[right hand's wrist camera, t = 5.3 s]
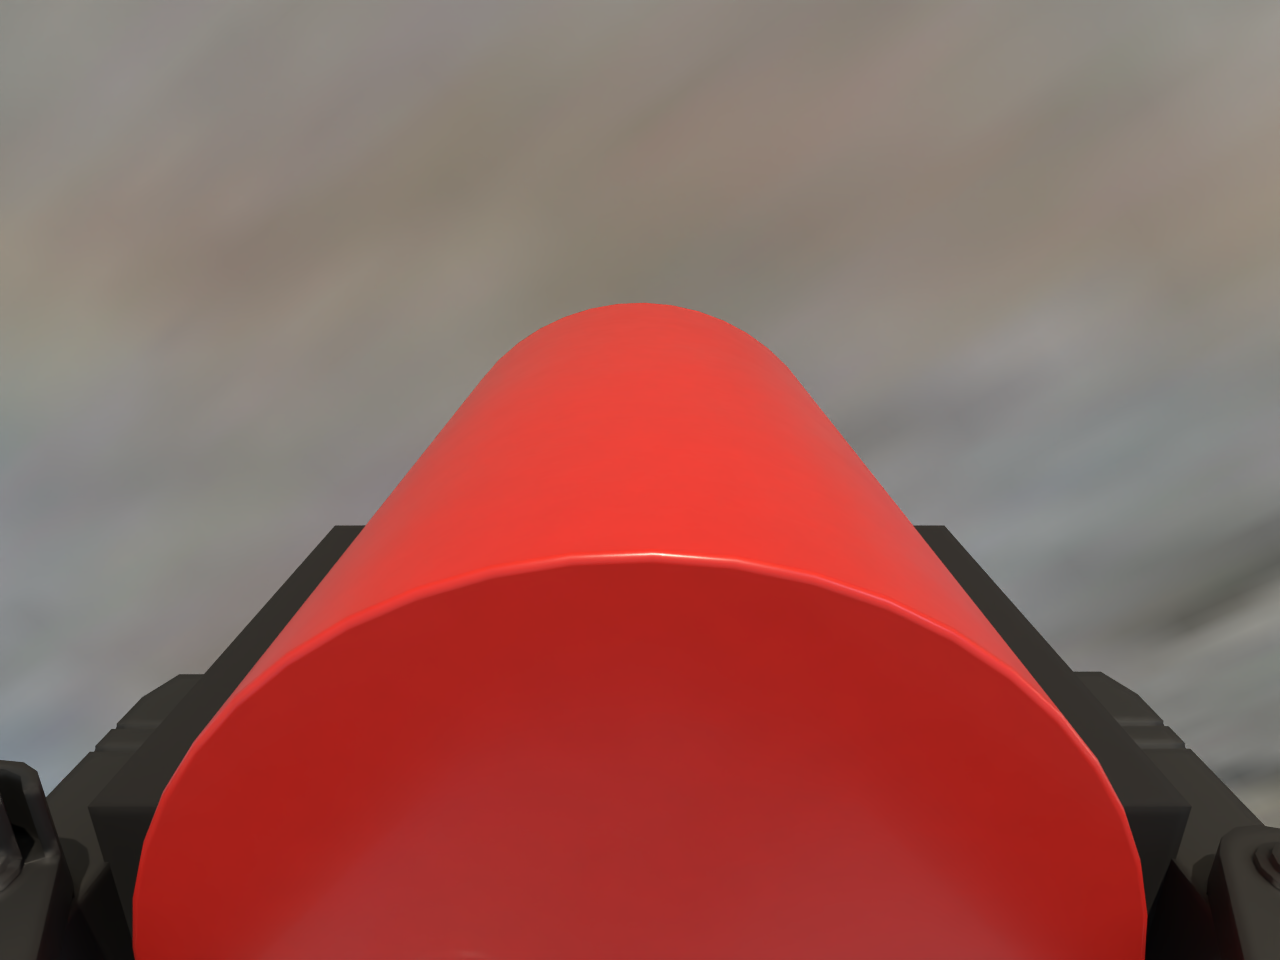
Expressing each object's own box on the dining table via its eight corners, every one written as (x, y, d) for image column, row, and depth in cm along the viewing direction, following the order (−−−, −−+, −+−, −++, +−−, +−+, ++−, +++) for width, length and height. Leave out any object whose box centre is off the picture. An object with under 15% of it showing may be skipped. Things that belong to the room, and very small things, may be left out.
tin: (891, 368, 17) (1367, 723, 6) (757, 696, 20) (907, 1351, 9) (494, 250, 17) (173, 403, 5) (415, 610, 20) (98, 1215, 8)
